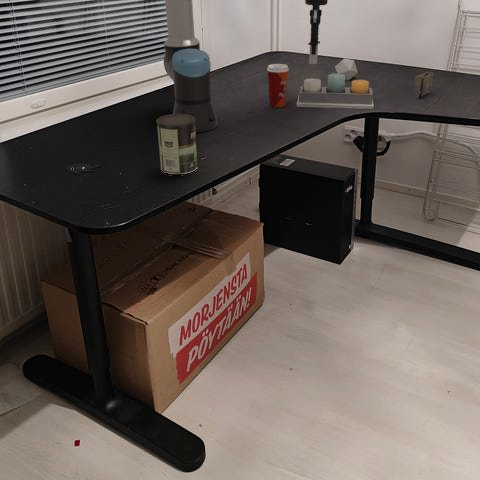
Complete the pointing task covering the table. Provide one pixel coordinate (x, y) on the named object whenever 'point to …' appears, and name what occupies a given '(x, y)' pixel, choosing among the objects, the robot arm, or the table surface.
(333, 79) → the teal button
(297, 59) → the table surface
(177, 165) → the coffee can
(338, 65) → the die
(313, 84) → the ivory button
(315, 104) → the panel
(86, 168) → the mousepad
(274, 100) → the paper cup
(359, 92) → the orange candle
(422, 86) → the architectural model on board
